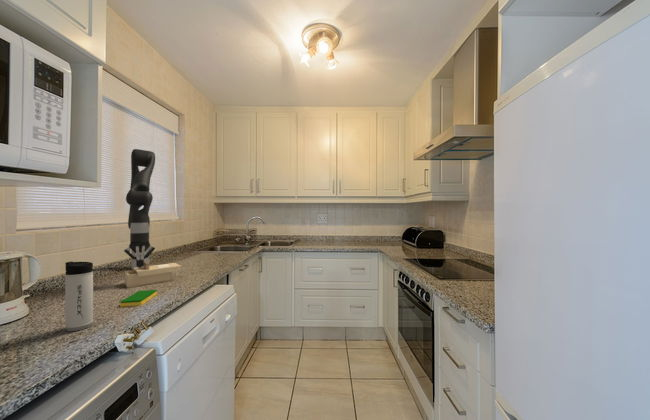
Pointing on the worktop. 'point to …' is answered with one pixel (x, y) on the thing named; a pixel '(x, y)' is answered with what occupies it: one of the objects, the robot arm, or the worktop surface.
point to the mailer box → (145, 279)
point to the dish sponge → (138, 298)
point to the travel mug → (78, 295)
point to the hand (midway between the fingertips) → (139, 267)
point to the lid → (157, 269)
